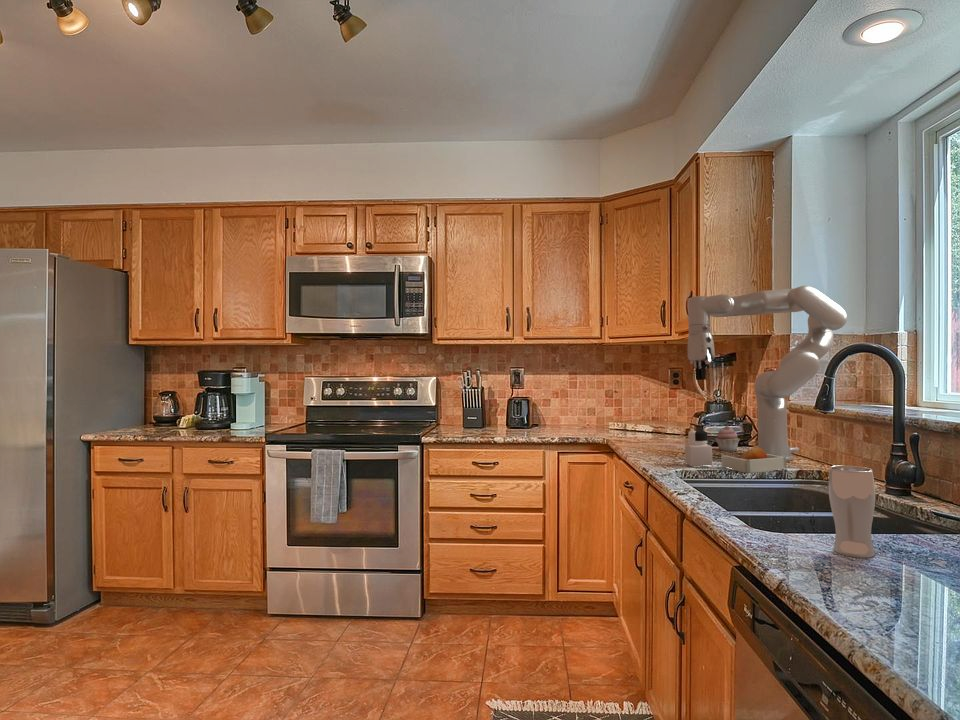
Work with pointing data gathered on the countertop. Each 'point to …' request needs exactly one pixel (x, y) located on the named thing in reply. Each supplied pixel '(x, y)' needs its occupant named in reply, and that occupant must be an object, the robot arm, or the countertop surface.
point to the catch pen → (754, 463)
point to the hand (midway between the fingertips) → (700, 379)
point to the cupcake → (727, 439)
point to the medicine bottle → (698, 449)
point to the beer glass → (852, 509)
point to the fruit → (754, 454)
